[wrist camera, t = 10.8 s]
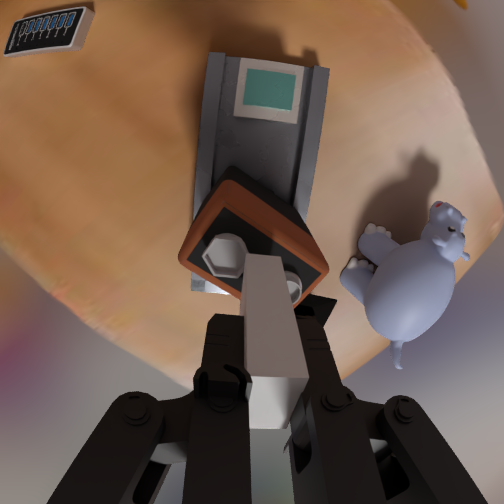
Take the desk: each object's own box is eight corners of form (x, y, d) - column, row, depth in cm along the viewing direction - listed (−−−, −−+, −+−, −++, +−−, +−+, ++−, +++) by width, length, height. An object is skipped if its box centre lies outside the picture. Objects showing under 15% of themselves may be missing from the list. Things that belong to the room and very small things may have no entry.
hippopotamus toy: (456, 212, 25) (512, 248, 16) (395, 317, 31) (428, 372, 23) (390, 170, 23) (452, 199, 15) (325, 299, 29) (351, 365, 21)
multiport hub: (83, 51, 17) (71, 47, 15) (14, 58, 15) (1, 56, 13) (97, 12, 15) (87, 5, 13) (25, 23, 13) (14, 20, 11)
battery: (230, 161, 20) (220, 196, 11) (301, 212, 22) (340, 279, 13) (198, 207, 21) (168, 273, 12) (267, 253, 23) (282, 337, 14)
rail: (212, 59, 18) (202, 40, 13) (321, 74, 19) (344, 61, 14) (195, 275, 27) (185, 312, 22) (285, 283, 28) (294, 321, 23)
